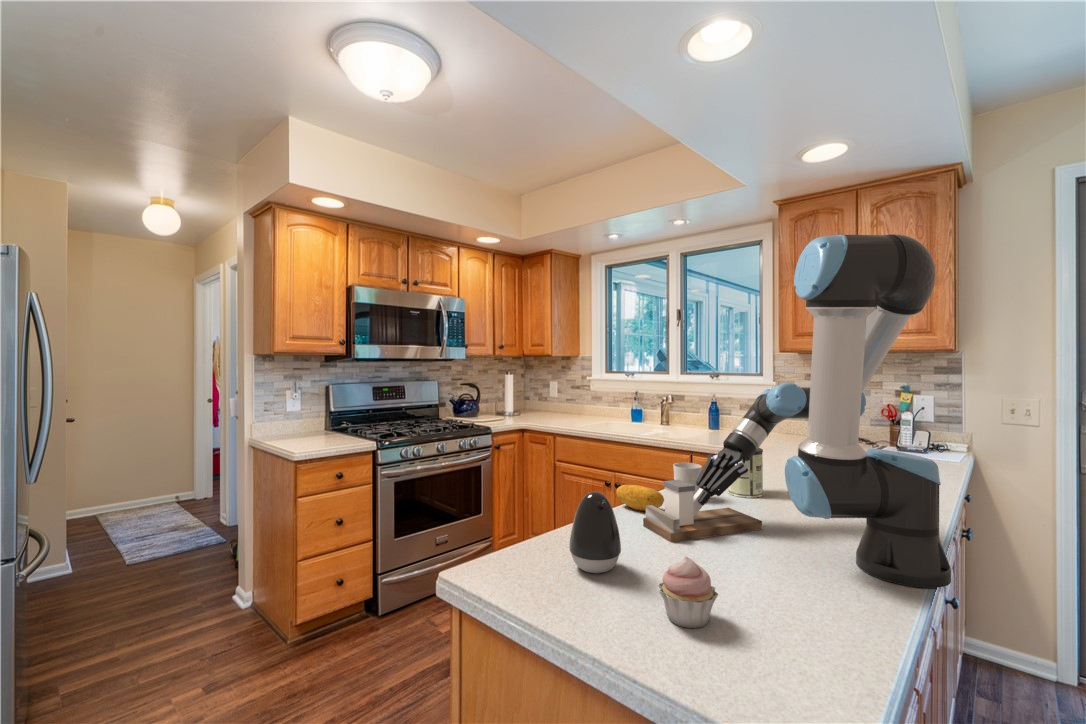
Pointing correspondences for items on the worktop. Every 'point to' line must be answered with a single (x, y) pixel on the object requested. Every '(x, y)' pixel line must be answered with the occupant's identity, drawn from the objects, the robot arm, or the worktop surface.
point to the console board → (699, 524)
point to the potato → (639, 496)
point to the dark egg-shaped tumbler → (595, 535)
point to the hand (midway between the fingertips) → (689, 512)
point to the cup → (687, 473)
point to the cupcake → (687, 594)
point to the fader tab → (679, 500)
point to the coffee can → (750, 478)
